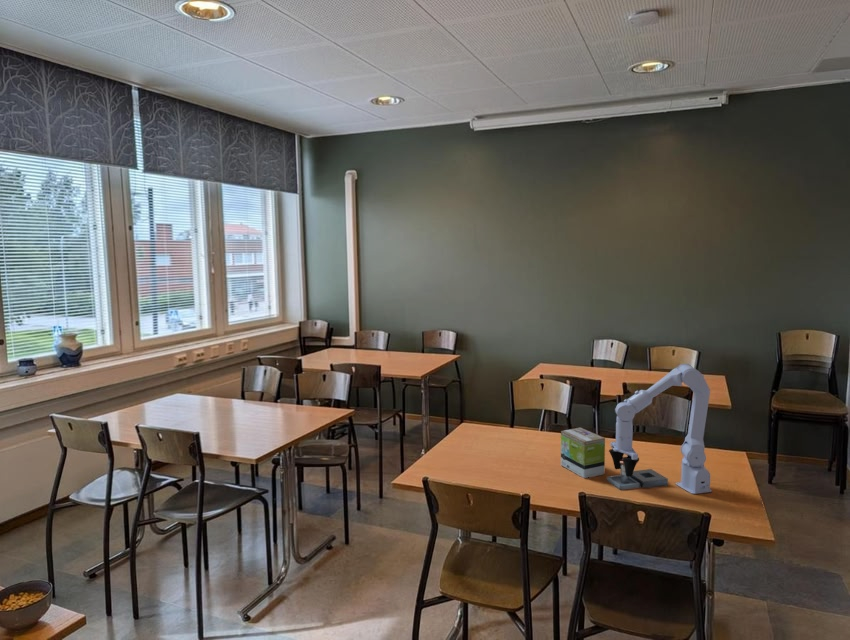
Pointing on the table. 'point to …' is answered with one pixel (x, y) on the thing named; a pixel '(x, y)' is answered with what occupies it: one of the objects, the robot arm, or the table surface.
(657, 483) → the hitch block
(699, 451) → the robot arm
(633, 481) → the tray
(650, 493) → the table surface
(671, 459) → the table surface
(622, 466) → the pin
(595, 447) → the tea box
